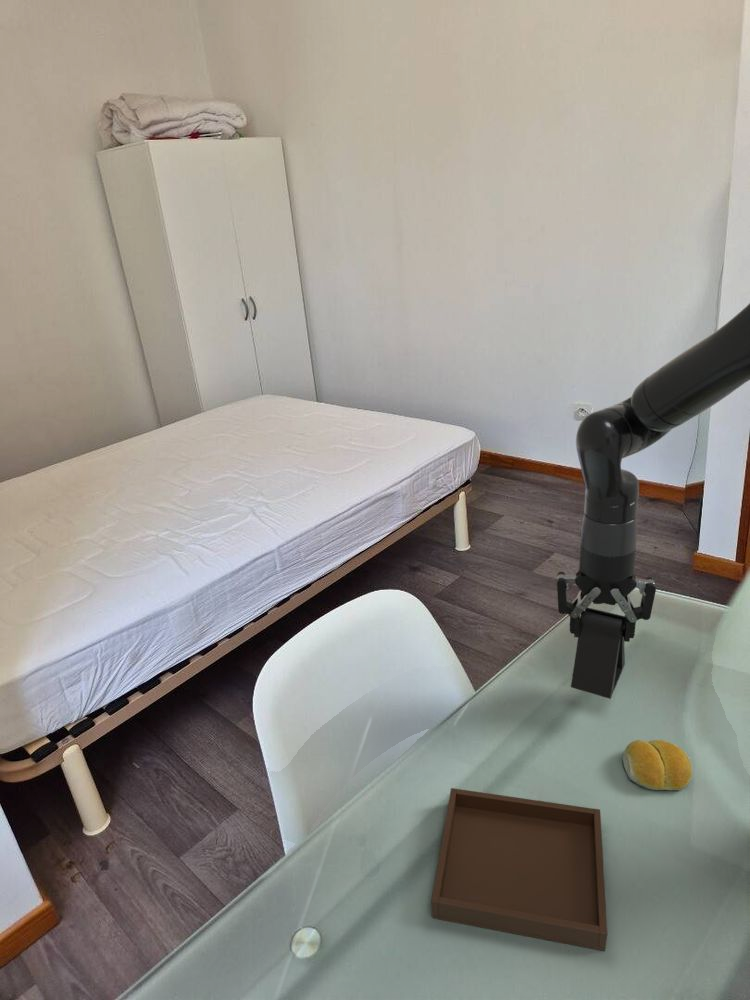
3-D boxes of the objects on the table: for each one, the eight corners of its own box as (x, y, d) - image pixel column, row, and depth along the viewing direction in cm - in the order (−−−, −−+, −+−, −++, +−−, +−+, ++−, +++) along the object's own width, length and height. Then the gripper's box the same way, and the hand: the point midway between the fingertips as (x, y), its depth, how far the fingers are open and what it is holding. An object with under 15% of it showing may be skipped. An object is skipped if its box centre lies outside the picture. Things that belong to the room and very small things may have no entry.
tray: (598, 825, 91) (600, 809, 90) (605, 951, 77) (607, 934, 75) (451, 803, 96) (451, 787, 95) (432, 918, 82) (431, 901, 80)
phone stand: (610, 700, 103) (615, 635, 98) (570, 688, 106) (573, 624, 101) (625, 665, 110) (630, 602, 105) (587, 654, 113) (591, 593, 108)
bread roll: (699, 793, 95) (703, 772, 93) (632, 793, 95) (635, 773, 94) (678, 747, 102) (682, 727, 100) (617, 748, 103) (619, 728, 101)
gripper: (555, 551, 96) (552, 647, 103) (665, 557, 93) (654, 656, 100) (556, 526, 103) (553, 618, 110) (659, 531, 99) (648, 625, 106)
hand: (601, 636), depth 105 cm, fingers closed on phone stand, 6 cm apart
